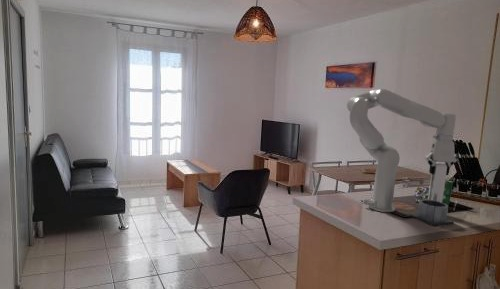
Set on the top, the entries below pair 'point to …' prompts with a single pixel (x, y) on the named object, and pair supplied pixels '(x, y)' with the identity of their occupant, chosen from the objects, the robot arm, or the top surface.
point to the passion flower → (421, 193)
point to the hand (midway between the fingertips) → (438, 173)
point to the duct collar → (432, 213)
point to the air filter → (437, 182)
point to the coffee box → (447, 192)
